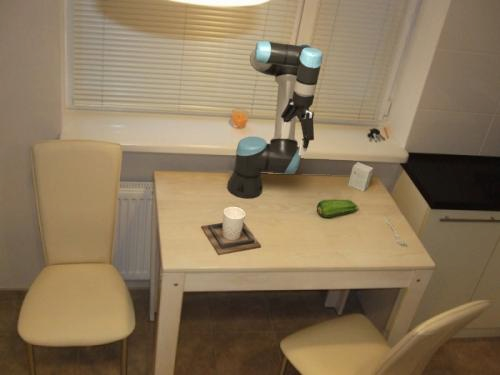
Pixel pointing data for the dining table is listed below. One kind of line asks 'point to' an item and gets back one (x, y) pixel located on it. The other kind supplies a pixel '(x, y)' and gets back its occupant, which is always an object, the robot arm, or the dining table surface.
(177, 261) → the dining table surface
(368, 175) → the small box
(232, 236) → the white cup
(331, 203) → the vegetable
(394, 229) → the fork
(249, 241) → the dock board
